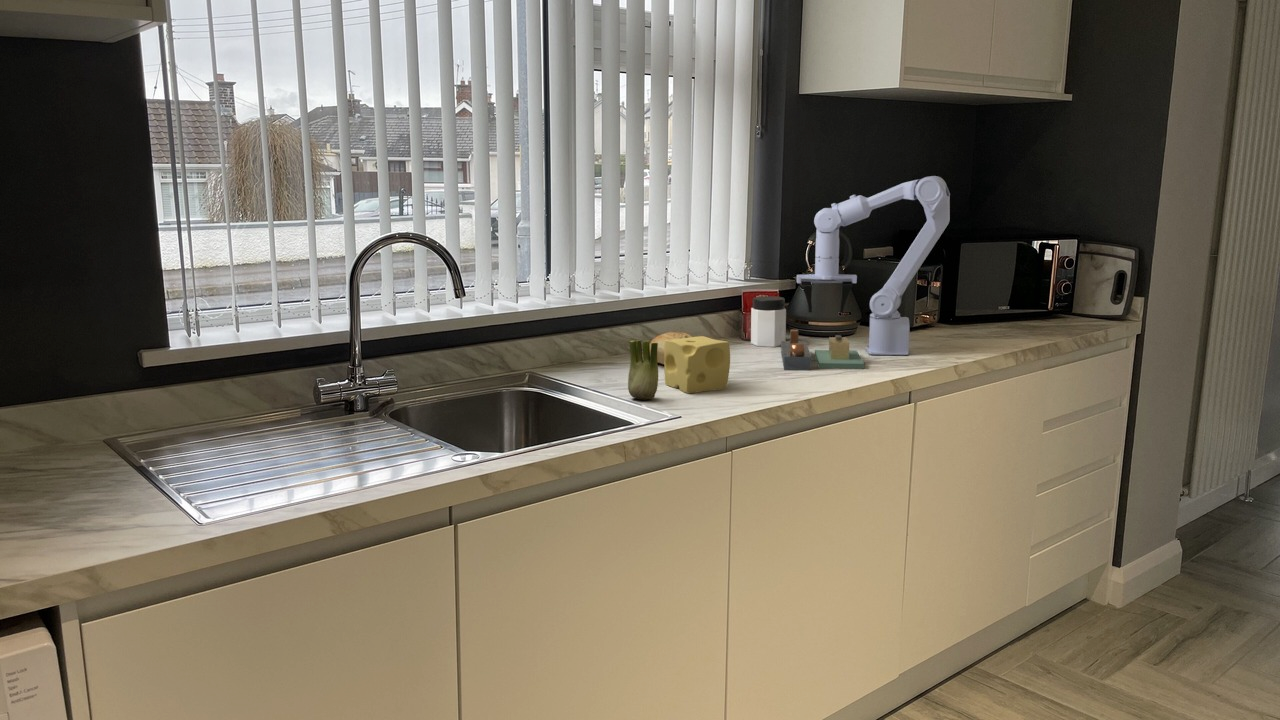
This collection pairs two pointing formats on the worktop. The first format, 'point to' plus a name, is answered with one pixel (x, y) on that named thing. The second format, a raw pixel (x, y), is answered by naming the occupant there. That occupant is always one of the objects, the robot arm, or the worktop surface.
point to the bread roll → (661, 343)
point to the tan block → (839, 348)
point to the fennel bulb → (643, 370)
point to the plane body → (795, 353)
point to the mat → (827, 362)
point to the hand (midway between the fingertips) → (825, 311)
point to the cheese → (696, 364)
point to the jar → (768, 321)
